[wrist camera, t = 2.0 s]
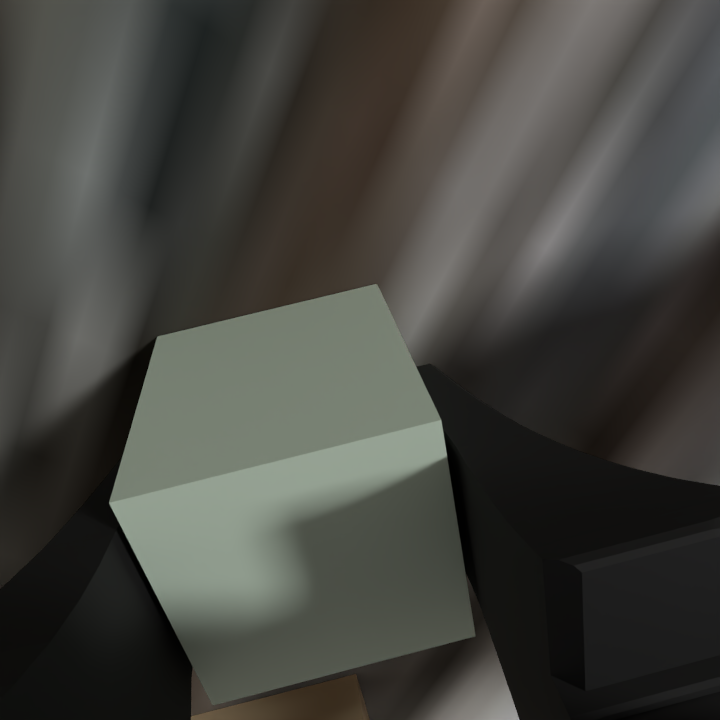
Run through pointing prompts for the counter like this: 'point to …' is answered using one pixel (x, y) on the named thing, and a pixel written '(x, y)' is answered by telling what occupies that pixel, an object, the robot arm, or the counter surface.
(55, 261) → the counter surface
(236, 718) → the slab lower
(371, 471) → the sage block
